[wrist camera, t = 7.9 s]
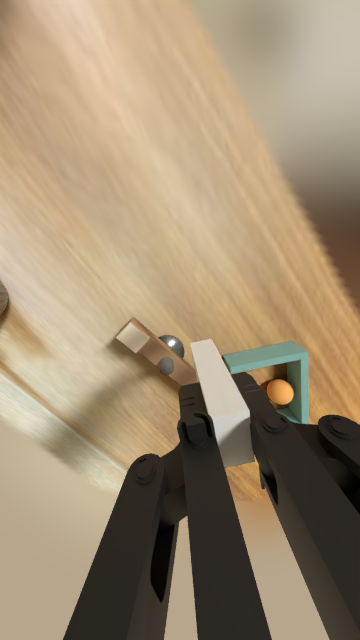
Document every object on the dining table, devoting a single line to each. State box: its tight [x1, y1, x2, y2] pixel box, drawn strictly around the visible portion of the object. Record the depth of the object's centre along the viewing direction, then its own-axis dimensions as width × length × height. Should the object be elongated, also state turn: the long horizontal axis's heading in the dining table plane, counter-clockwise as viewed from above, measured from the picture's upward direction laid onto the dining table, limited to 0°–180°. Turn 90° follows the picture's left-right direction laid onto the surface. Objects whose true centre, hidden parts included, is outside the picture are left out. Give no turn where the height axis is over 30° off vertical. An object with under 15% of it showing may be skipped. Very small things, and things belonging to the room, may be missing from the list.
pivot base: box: [158, 335, 184, 358], centre depth 29 cm, size 5×5×1 cm
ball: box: [267, 379, 294, 405], centre depth 30 cm, size 4×4×4 cm
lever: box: [116, 317, 198, 386], centre depth 27 cm, size 20×2×4 cm, turn 46°
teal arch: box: [223, 341, 309, 424], centre depth 30 cm, size 13×10×4 cm
